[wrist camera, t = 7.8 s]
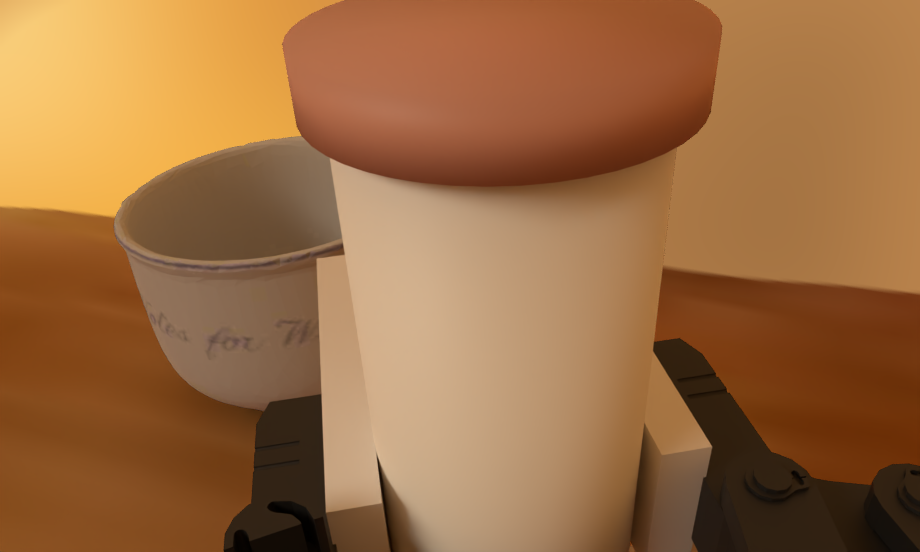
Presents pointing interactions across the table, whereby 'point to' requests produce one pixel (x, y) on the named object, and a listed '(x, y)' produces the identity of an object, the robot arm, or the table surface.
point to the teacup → (237, 267)
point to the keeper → (505, 247)
